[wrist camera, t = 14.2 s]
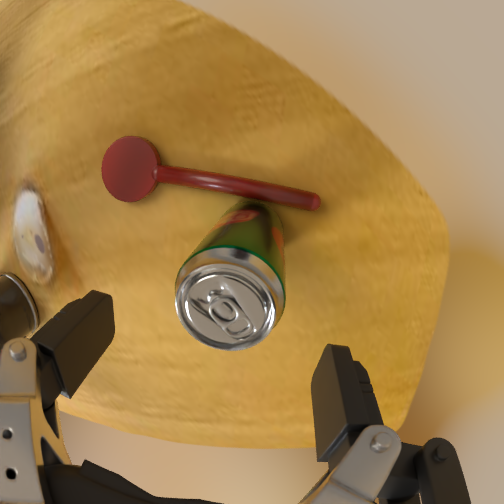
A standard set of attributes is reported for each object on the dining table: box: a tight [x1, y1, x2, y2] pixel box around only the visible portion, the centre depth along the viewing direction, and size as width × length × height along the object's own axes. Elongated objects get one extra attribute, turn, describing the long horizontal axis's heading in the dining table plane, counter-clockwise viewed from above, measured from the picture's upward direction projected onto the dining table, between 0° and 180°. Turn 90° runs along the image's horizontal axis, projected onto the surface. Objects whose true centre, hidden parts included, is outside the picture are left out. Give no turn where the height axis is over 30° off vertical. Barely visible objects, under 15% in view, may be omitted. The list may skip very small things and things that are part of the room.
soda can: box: [175, 201, 286, 351], centre depth 17 cm, size 5×5×12 cm
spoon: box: [102, 136, 321, 211], centre depth 21 cm, size 18×6×1 cm, turn 79°
